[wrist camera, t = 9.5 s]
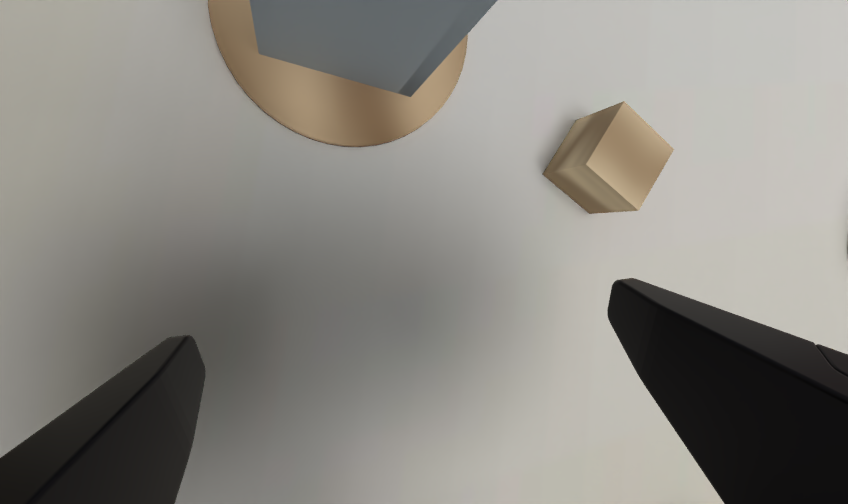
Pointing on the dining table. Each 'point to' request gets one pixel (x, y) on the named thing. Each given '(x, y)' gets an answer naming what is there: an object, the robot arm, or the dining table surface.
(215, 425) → the dining table surface
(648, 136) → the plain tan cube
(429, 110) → the coaster
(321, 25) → the blue-grey open box
